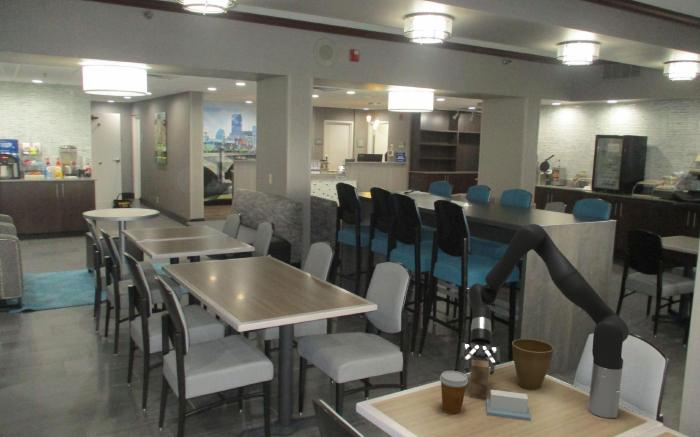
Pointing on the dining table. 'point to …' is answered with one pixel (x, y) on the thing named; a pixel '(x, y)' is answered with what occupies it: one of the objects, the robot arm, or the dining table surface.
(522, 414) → the butter dish
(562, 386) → the dining table surface
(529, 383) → the plant pot
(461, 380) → the disposable coffee cup
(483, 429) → the dining table surface
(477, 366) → the post
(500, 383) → the dining table surface
